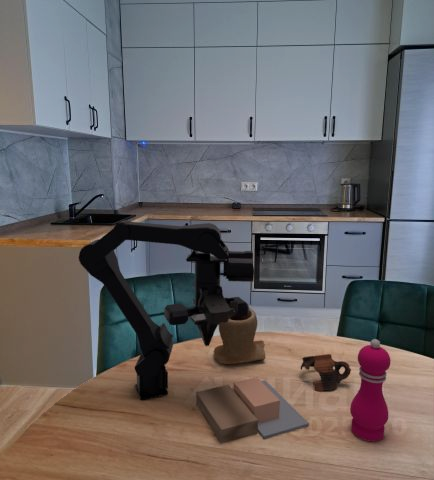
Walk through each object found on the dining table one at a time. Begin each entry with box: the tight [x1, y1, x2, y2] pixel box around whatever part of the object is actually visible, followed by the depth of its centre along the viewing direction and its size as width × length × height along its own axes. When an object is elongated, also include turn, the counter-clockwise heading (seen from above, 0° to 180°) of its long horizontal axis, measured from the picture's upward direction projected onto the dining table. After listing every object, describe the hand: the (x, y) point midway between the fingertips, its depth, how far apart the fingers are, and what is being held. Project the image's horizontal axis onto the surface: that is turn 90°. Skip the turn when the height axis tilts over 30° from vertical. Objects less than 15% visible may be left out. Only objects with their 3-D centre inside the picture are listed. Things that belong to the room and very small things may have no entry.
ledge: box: [195, 384, 259, 444], centre depth 85 cm, size 8×14×3 cm, turn 23°
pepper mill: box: [349, 338, 391, 442], centre depth 79 cm, size 7×7×20 cm
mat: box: [231, 379, 310, 440], centre depth 88 cm, size 11×18×1 cm, turn 23°
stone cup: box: [213, 307, 266, 365], centre depth 109 cm, size 15×12×15 cm
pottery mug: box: [300, 353, 352, 392], centre depth 99 cm, size 12×10×8 cm
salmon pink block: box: [233, 376, 280, 423], centre depth 87 cm, size 4×10×6 cm
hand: (206, 345), depth 92 cm, fingers closed
